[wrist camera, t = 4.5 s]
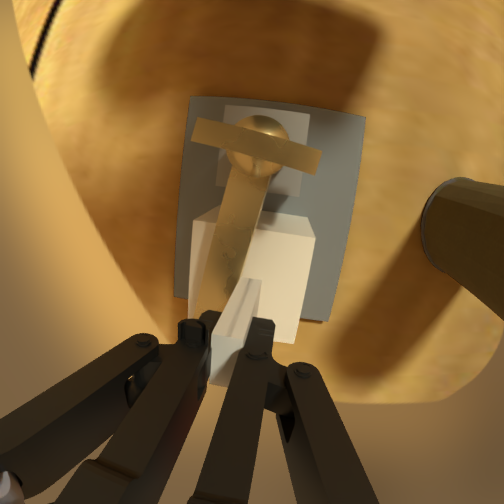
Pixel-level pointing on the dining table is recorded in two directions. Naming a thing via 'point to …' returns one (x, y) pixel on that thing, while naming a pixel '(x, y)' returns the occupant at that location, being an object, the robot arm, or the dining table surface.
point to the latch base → (310, 203)
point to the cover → (264, 266)
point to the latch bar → (243, 195)
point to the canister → (468, 237)
